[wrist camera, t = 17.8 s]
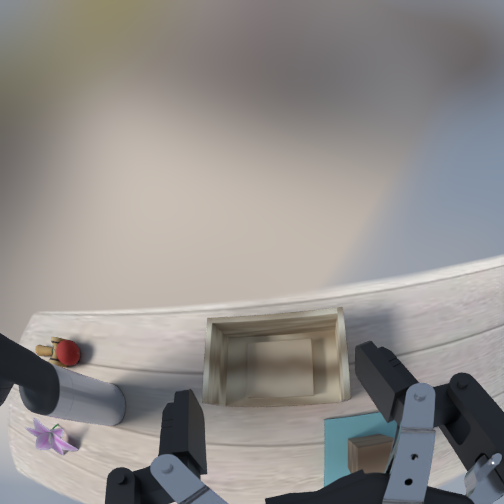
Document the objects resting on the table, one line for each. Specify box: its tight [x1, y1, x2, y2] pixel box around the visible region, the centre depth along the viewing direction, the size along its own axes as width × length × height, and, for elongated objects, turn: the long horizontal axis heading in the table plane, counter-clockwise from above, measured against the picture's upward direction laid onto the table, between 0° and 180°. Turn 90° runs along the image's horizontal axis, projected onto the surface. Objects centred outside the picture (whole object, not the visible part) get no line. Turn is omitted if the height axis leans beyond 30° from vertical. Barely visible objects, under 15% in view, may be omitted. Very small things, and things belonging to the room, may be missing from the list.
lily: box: [25, 418, 78, 455], centre depth 38 cm, size 12×12×10 cm
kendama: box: [36, 337, 81, 367], centre depth 51 cm, size 8×6×18 cm
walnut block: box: [348, 434, 394, 473], centre depth 26 cm, size 5×5×12 cm
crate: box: [202, 307, 351, 407], centre depth 39 cm, size 13×20×9 cm, turn 89°
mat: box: [324, 412, 397, 487], centre depth 31 cm, size 12×12×1 cm
